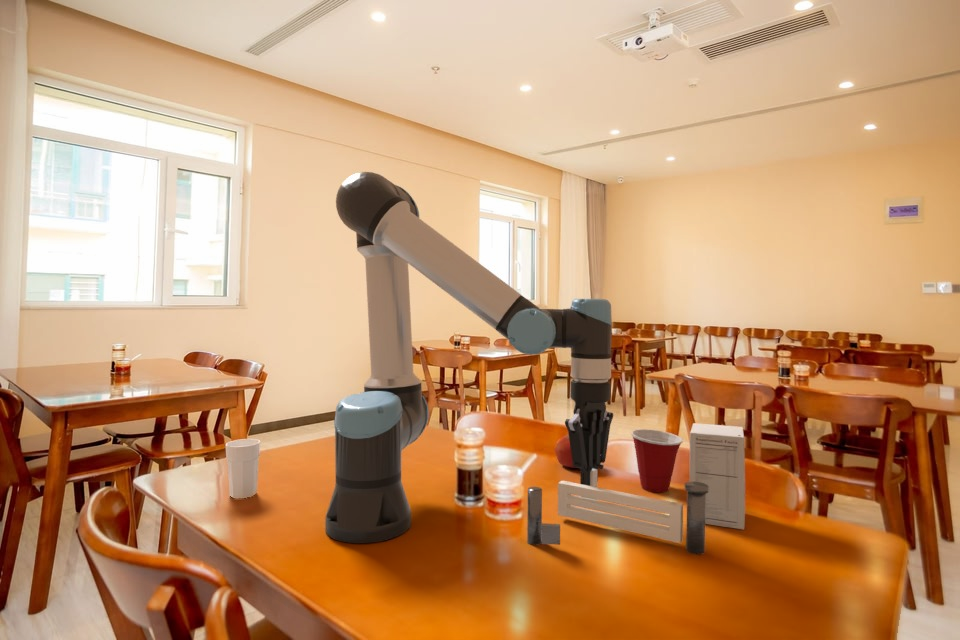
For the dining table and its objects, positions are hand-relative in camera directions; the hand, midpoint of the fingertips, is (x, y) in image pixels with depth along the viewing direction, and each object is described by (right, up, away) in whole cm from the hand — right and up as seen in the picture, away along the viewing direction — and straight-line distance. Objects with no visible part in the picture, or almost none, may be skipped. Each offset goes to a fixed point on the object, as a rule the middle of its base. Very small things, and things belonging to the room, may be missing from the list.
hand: (588, 502), depth 103 cm
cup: (-70, -2, +9) cm, 71 cm away
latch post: (-10, -3, -13) cm, 17 cm away
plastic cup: (+18, -2, +15) cm, 23 cm away
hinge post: (+14, -3, -15) cm, 21 cm away
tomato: (+2, -2, +30) cm, 31 cm away
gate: (+3, -2, -8) cm, 9 cm away
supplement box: (+24, -3, -1) cm, 24 cm away
